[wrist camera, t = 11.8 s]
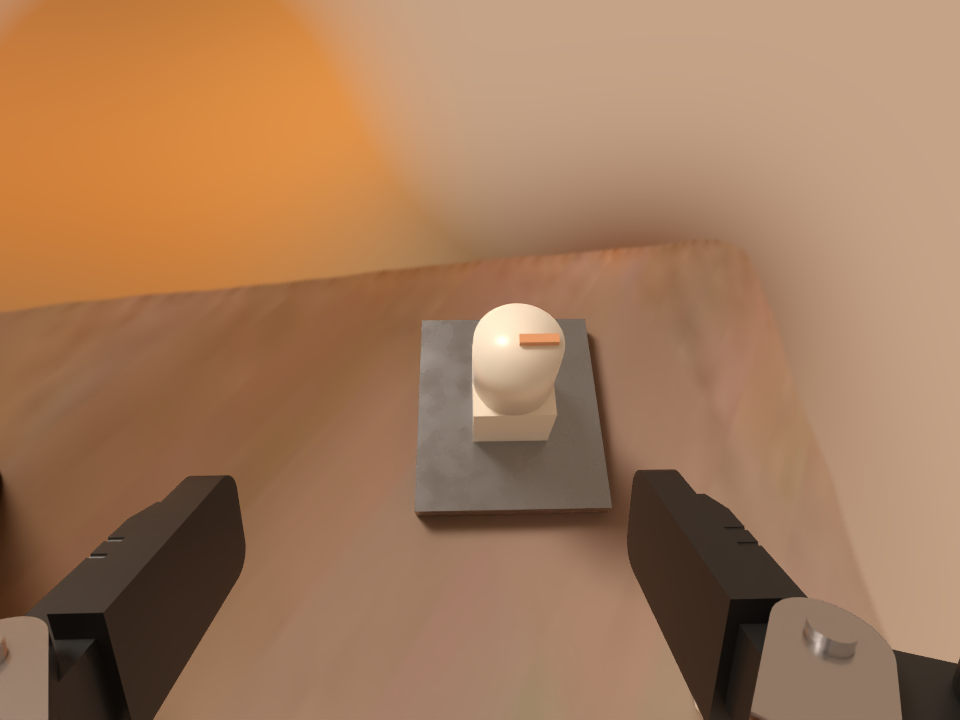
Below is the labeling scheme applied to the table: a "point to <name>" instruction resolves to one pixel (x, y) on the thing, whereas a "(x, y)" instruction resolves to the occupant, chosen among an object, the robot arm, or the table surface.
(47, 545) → the table surface
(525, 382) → the knob
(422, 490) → the grey base with post
